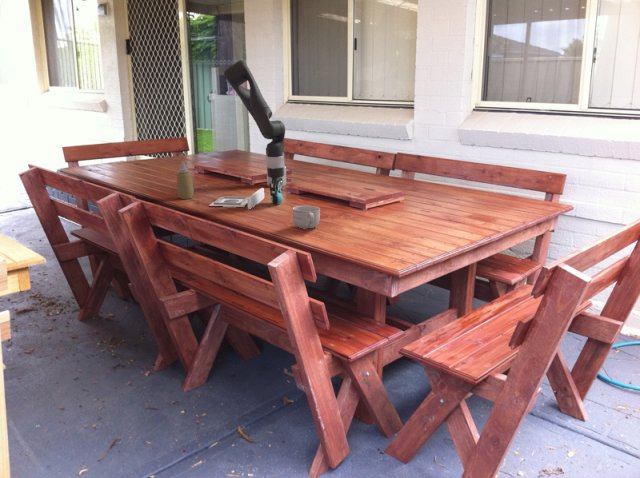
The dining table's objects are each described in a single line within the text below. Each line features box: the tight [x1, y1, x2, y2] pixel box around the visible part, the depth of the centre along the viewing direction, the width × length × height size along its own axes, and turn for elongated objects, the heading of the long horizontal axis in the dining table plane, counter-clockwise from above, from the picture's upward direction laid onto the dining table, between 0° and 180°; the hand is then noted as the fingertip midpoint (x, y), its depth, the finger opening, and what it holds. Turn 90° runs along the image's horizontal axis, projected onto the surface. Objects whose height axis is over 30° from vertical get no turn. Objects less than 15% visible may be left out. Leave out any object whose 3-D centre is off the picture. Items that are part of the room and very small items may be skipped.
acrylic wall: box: [247, 187, 265, 210], centre depth 276 cm, size 22×1×5 cm, turn 169°
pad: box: [208, 195, 250, 208], centre depth 279 cm, size 16×16×2 cm
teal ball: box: [270, 192, 284, 205], centre depth 274 cm, size 6×6×6 cm
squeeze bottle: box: [176, 160, 195, 200], centre depth 289 cm, size 8×8×18 cm
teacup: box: [292, 205, 321, 229], centre depth 234 cm, size 14×11×8 cm
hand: (277, 202), depth 275 cm, fingers closed on teal ball, 5 cm apart
